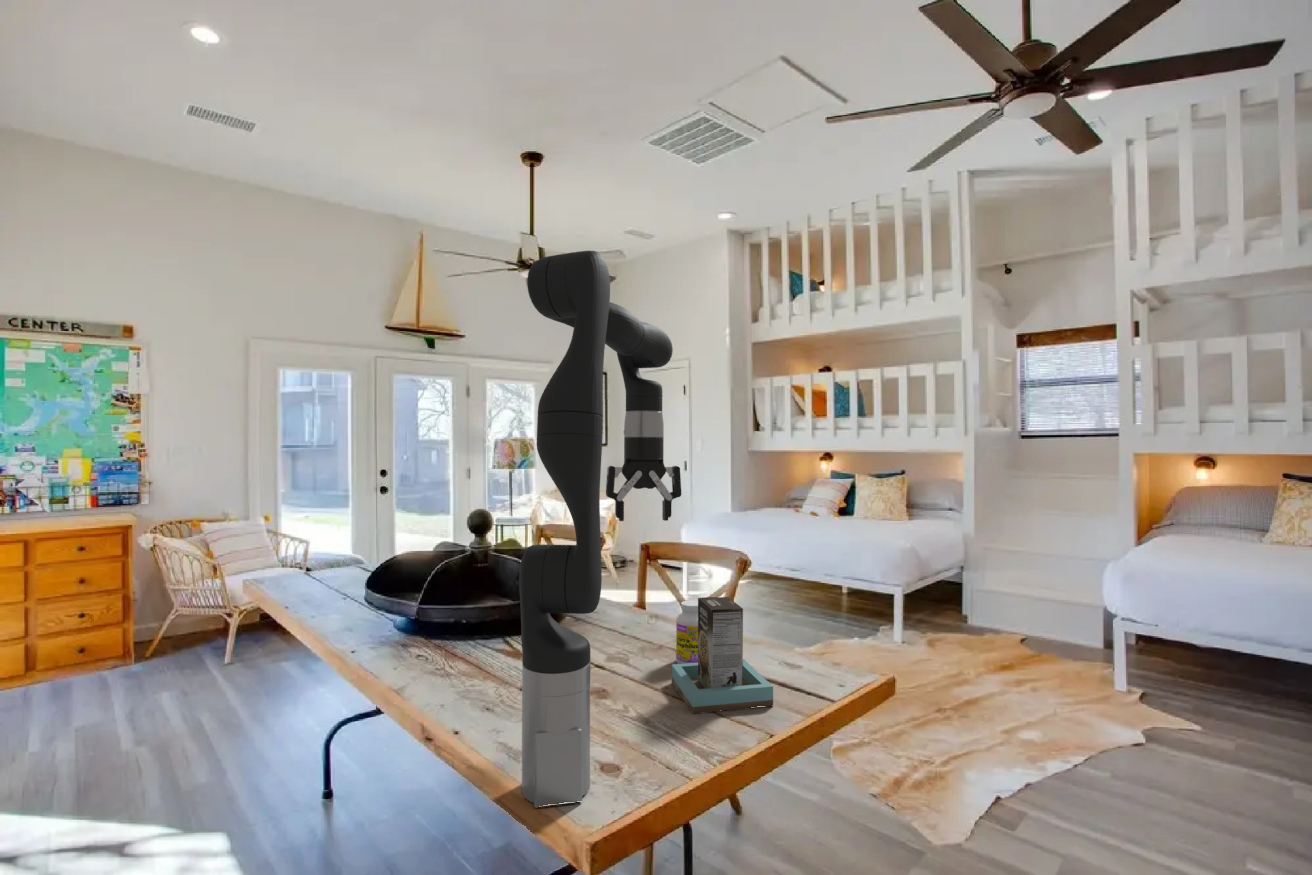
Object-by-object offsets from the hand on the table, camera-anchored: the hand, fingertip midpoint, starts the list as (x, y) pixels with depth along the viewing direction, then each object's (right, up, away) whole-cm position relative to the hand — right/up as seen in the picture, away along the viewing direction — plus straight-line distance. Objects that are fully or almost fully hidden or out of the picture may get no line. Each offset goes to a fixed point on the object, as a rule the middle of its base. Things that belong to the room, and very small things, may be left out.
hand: (643, 520), depth 124 cm
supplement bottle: (+10, -33, +16) cm, 38 cm away
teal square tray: (+15, -33, -1) cm, 36 cm away
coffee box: (+14, -32, -2) cm, 35 cm away
